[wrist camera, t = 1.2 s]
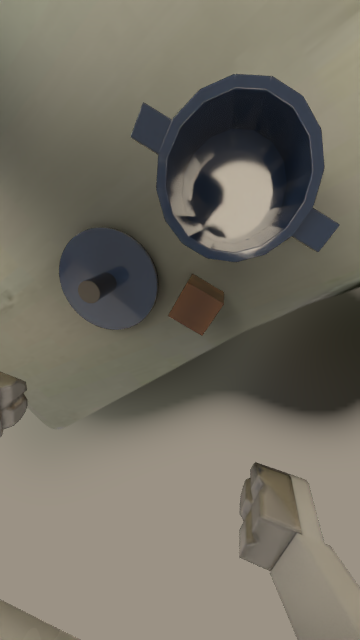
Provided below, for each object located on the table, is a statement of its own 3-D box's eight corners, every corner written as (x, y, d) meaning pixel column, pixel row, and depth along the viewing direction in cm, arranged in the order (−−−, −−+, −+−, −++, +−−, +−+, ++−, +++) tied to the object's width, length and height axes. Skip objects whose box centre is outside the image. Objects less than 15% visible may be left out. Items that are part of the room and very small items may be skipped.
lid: (134, 342, 35) (118, 363, 30) (53, 296, 35) (22, 309, 30) (177, 262, 30) (167, 271, 25) (82, 206, 29) (52, 203, 24)
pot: (267, 280, 29) (282, 303, 21) (137, 202, 28) (104, 197, 21) (343, 176, 24) (398, 157, 16) (189, 79, 23) (170, 9, 16)
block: (175, 303, 32) (167, 315, 28) (192, 273, 30) (187, 282, 26) (205, 321, 32) (202, 335, 28) (224, 292, 30) (224, 303, 26)
